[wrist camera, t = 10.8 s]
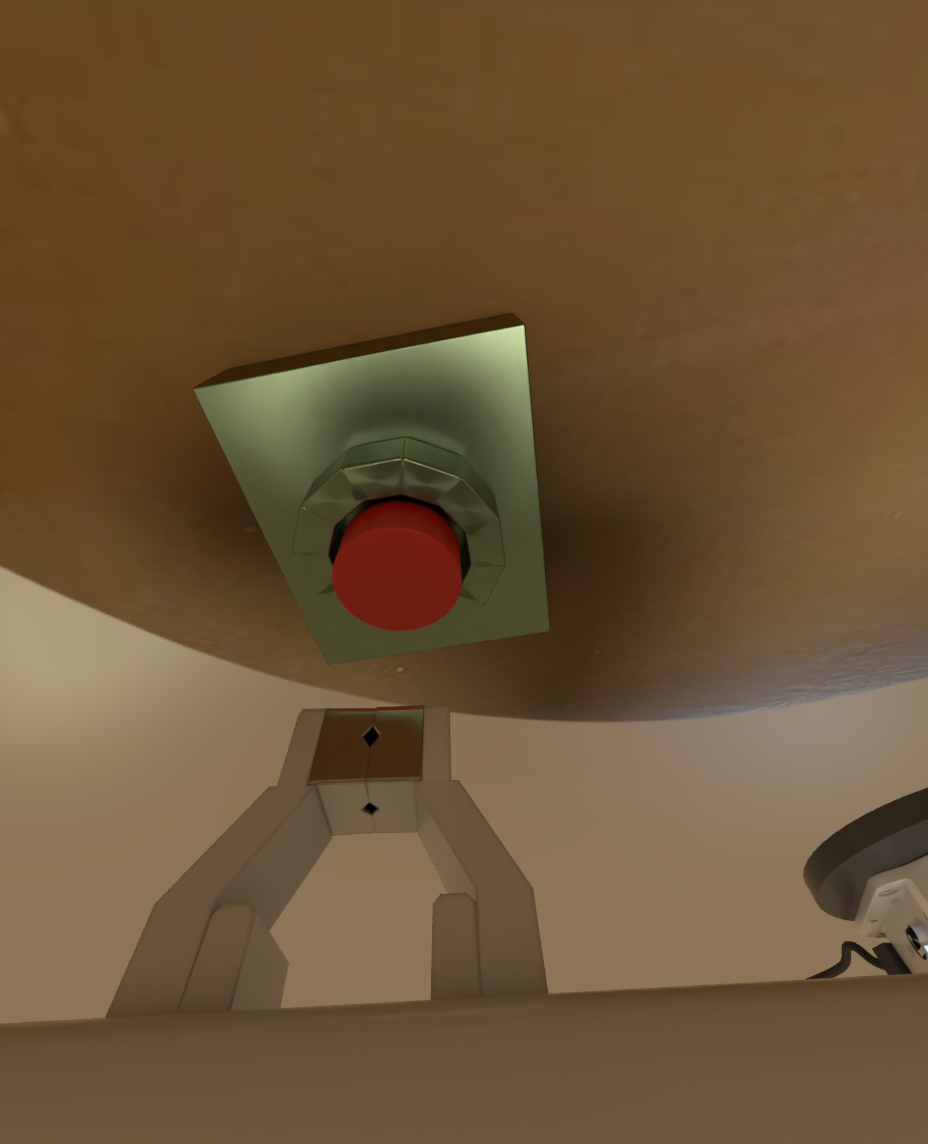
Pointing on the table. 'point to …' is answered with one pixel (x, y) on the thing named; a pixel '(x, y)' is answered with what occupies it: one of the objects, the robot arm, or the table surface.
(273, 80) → the table surface
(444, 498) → the button box
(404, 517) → the red push button
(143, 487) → the table surface
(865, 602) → the table surface
